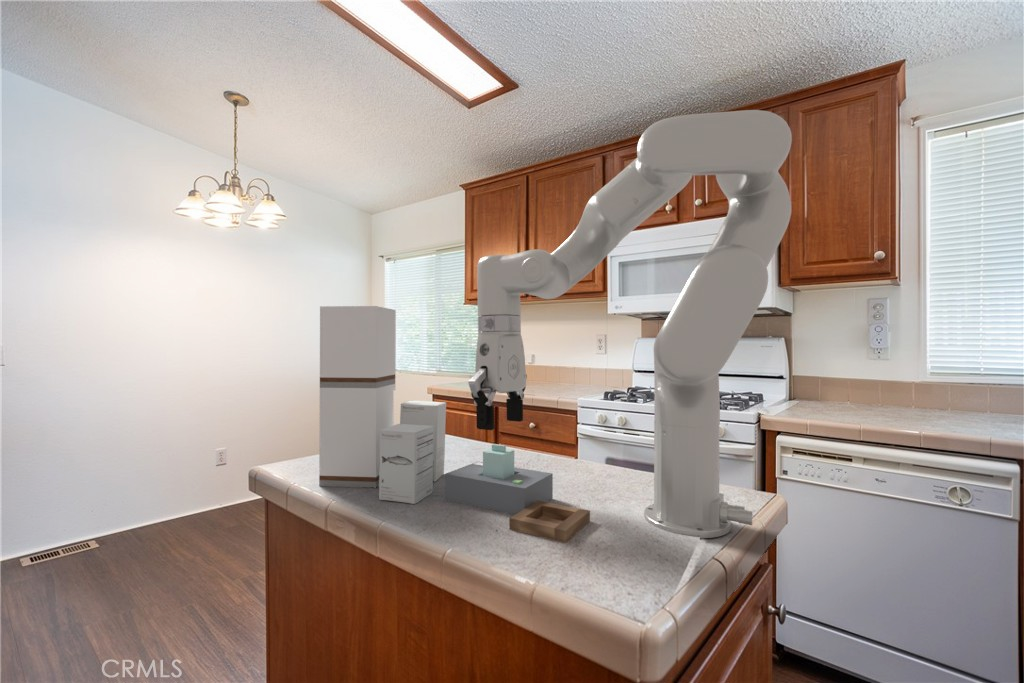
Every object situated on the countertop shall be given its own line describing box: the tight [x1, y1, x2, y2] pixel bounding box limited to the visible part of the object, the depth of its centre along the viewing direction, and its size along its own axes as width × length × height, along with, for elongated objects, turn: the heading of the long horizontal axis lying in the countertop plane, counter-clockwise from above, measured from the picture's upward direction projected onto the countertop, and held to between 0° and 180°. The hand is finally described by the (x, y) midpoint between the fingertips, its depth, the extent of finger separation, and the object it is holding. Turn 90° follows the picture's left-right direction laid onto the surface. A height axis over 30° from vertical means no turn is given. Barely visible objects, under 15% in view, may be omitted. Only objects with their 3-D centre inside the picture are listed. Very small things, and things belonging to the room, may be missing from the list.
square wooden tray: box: [508, 501, 591, 544], centre depth 70 cm, size 9×9×2 cm
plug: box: [482, 443, 515, 480], centre depth 82 cm, size 4×4×9 cm
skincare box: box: [399, 400, 447, 483], centre depth 98 cm, size 8×7×16 cm
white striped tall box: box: [318, 305, 397, 489], centre depth 96 cm, size 11×11×35 cm
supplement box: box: [378, 423, 434, 505], centre depth 85 cm, size 7×7×13 cm
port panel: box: [444, 461, 554, 516], centre depth 82 cm, size 16×10×5 cm, turn 59°
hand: (500, 424), depth 82 cm, fingers open, 9 cm apart
